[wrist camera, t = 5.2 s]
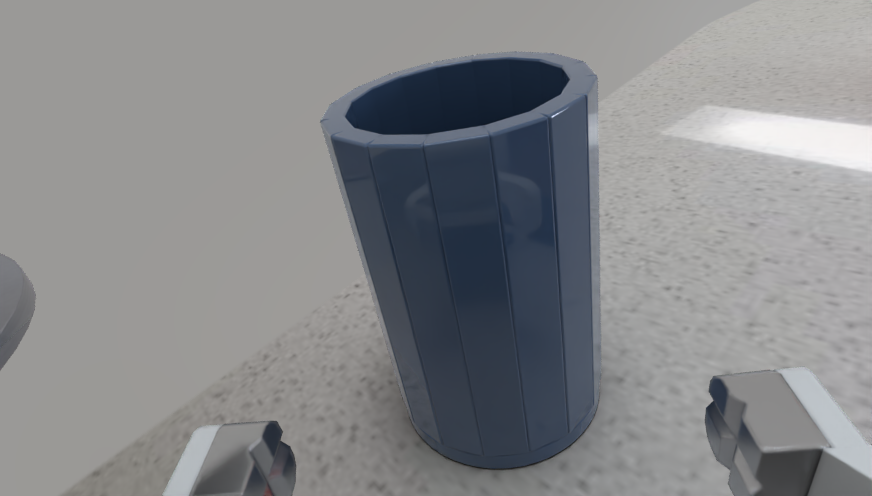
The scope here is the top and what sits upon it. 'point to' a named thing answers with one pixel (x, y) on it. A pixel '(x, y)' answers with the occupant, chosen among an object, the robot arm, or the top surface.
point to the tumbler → (481, 245)
